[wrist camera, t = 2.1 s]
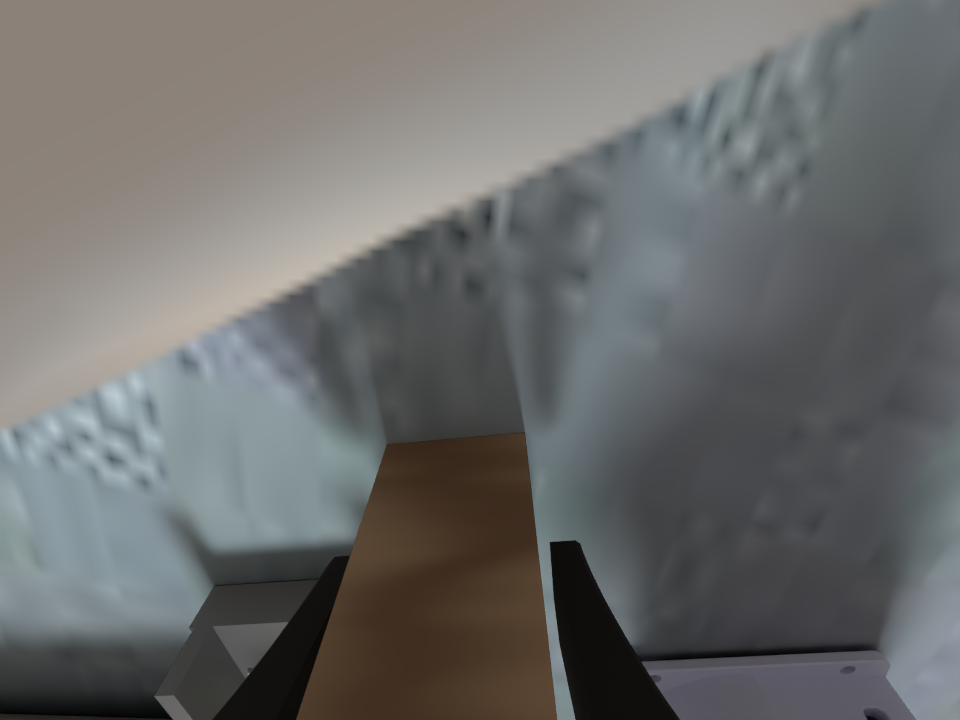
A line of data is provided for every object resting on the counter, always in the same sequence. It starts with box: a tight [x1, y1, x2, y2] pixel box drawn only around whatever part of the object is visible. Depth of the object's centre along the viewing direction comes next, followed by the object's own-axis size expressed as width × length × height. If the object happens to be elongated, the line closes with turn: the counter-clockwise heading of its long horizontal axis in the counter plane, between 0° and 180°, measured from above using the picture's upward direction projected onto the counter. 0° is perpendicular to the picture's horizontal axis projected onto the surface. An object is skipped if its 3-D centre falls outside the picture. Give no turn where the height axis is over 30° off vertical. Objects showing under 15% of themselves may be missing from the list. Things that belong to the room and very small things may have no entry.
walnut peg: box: [296, 433, 557, 720], centre depth 10 cm, size 4×4×8 cm
